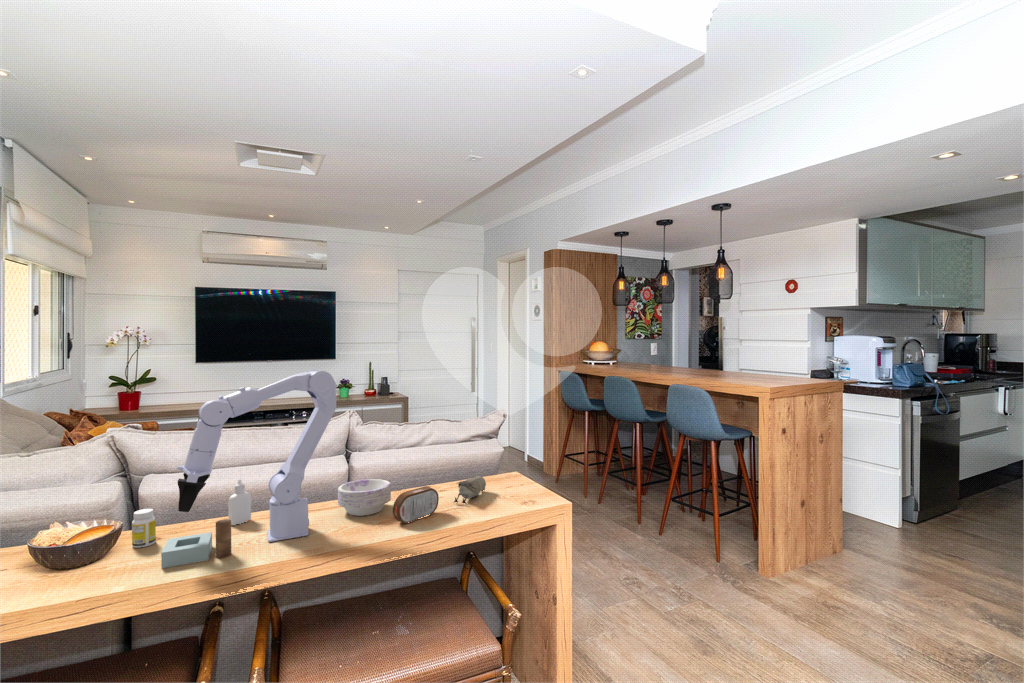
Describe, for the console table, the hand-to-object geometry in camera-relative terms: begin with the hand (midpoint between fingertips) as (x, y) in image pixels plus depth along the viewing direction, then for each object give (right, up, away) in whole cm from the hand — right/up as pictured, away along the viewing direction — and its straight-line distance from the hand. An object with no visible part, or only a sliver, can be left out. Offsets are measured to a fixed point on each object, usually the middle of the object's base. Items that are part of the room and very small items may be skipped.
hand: (185, 507), depth 118 cm
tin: (+50, -11, +23) cm, 57 cm away
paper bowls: (+33, -12, +30) cm, 47 cm away
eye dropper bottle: (+1, -12, +22) cm, 25 cm away
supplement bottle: (-15, -12, +7) cm, 21 cm away
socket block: (+1, -12, 0) cm, 12 cm away
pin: (+9, -12, 0) cm, 14 cm away
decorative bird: (+64, -11, +41) cm, 77 cm away
